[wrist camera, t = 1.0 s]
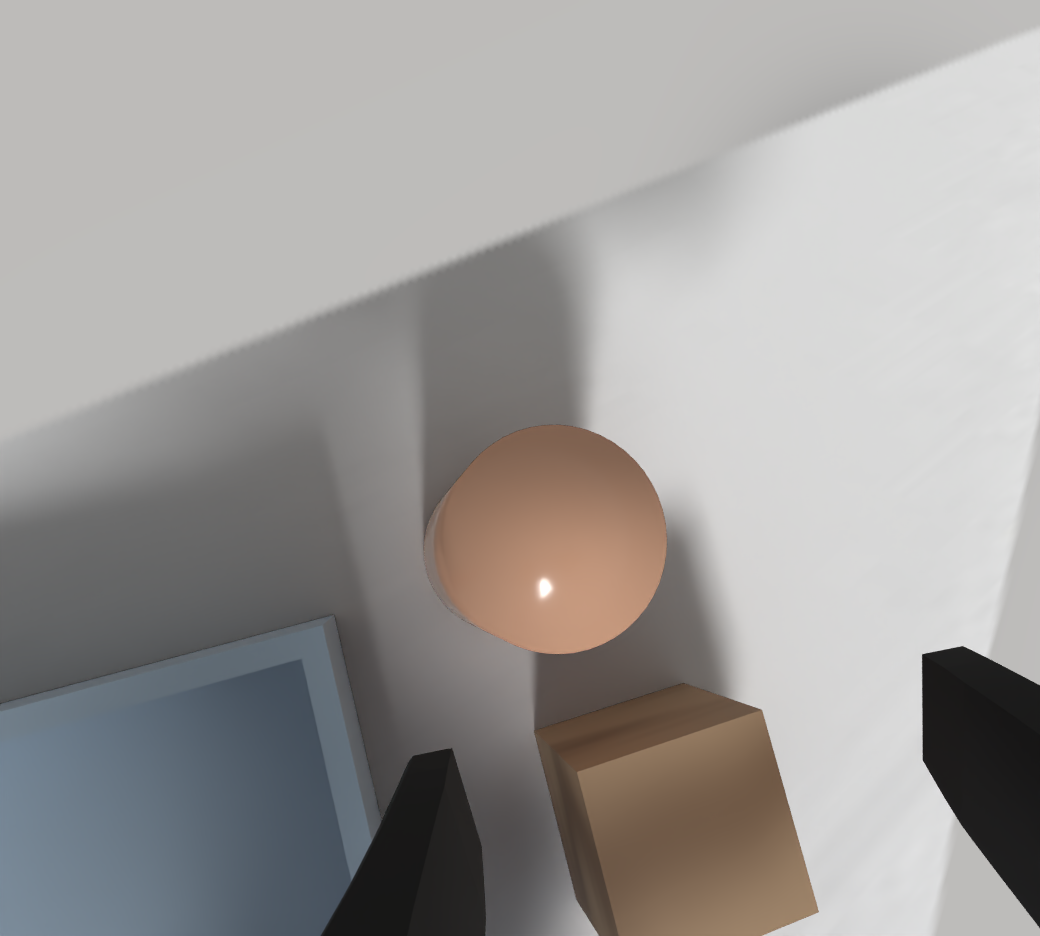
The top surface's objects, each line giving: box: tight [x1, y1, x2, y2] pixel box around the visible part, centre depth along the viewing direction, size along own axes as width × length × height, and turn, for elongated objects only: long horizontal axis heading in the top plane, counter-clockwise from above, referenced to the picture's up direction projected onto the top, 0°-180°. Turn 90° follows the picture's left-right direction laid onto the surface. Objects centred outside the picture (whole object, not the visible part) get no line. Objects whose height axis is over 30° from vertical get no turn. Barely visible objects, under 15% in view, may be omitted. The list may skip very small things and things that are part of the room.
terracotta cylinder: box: [424, 425, 667, 654], centre depth 20 cm, size 5×5×7 cm
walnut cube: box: [534, 683, 819, 936], centre depth 20 cm, size 5×5×5 cm
